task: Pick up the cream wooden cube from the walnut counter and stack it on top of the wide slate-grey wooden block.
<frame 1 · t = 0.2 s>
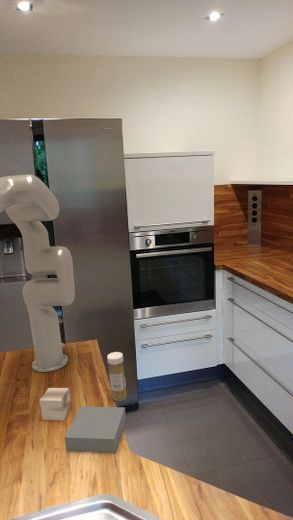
cream cube: (57, 413, 99), on the countertop
slate block: (97, 435, 89), on the countertop
sprinkles bottle: (119, 397, 104), on the countertop
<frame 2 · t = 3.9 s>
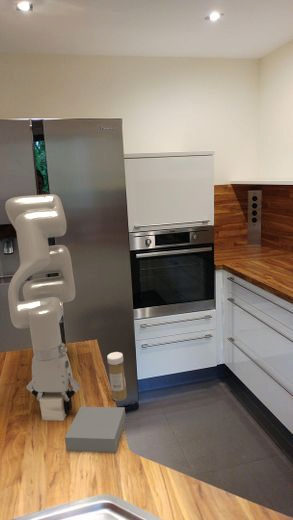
hand: (56, 410, 99), 1 cm above the countertop, fingers closed on cream cube, 6 cm apart
cream cube: (57, 413, 99), on the countertop, touching gripper
everything else where it was.
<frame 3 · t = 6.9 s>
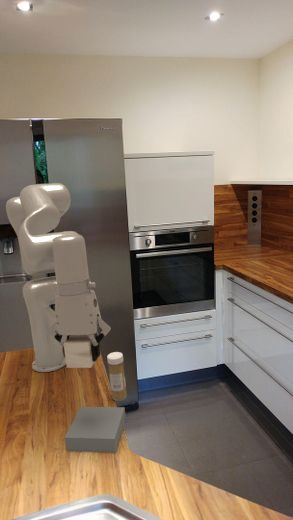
hand: (82, 358, 86), 20 cm above the countertop, fingers closed on cream cube, 6 cm apart
cream cube: (83, 361, 86), point 19 cm above the countertop, touching gripper
everything else where it was.
when the fingers open (5 cm above the countertop, at t = 10.3 s): cream cube drops 1 cm, resting on slate block.
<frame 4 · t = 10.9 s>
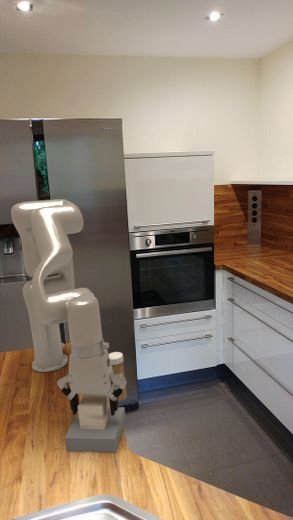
hand: (95, 411, 88), 6 cm above the countertop, fingers open, 9 cm apart
cream cube: (95, 421, 88), point 4 cm above the countertop, touching slate block
slate block: (97, 435, 89), on the countertop, touching cream cube
everything else where it was.
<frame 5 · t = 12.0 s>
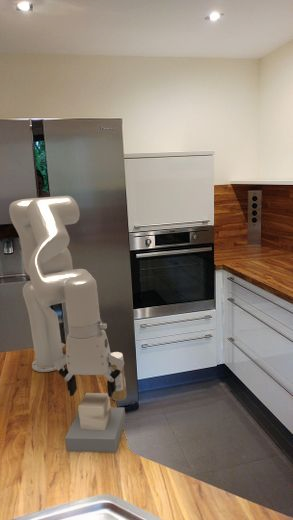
hand: (92, 393, 87), 11 cm above the countertop, fingers open, 9 cm apart
nothing on the countertop moved.
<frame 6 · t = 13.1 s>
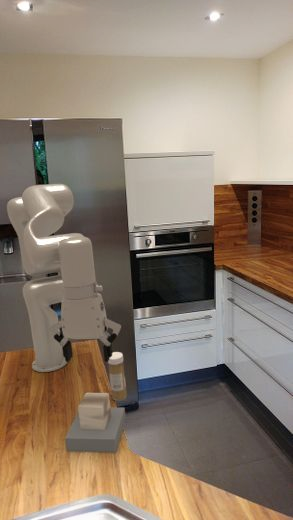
hand: (88, 359, 85), 20 cm above the countertop, fingers open, 9 cm apart
cream cube: (96, 421, 88), point 3 cm above the countertop
slate block: (98, 436, 89), on the countertop
everything else where it was.
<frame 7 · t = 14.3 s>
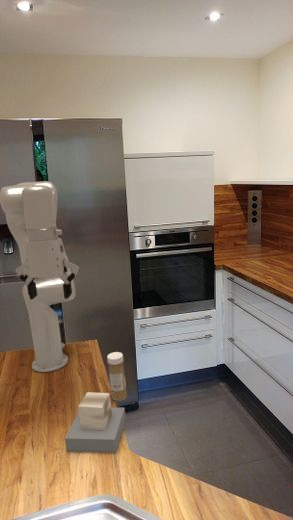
hand: (50, 297, 96), 33 cm above the countertop, fingers open, 9 cm apart
cream cube: (96, 421, 89), point 3 cm above the countertop, touching slate block
slate block: (98, 436, 89), on the countertop, touching cream cube
everything else where it was.
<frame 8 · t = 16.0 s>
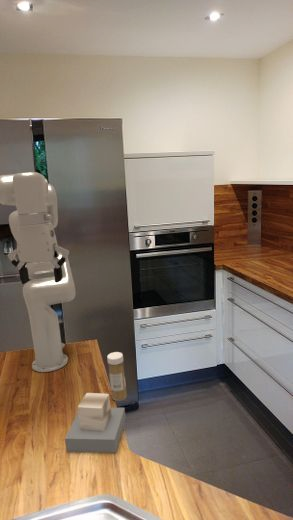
hand: (42, 282, 98), 36 cm above the countertop, fingers open, 9 cm apart
nothing on the countertop moved.
at the end: cream cube inside the target area on the slate block (0.2 cm from its centre), point 4.0 cm above the slate block's base; cream cube tilted 1°; the gripper is holding nothing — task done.
